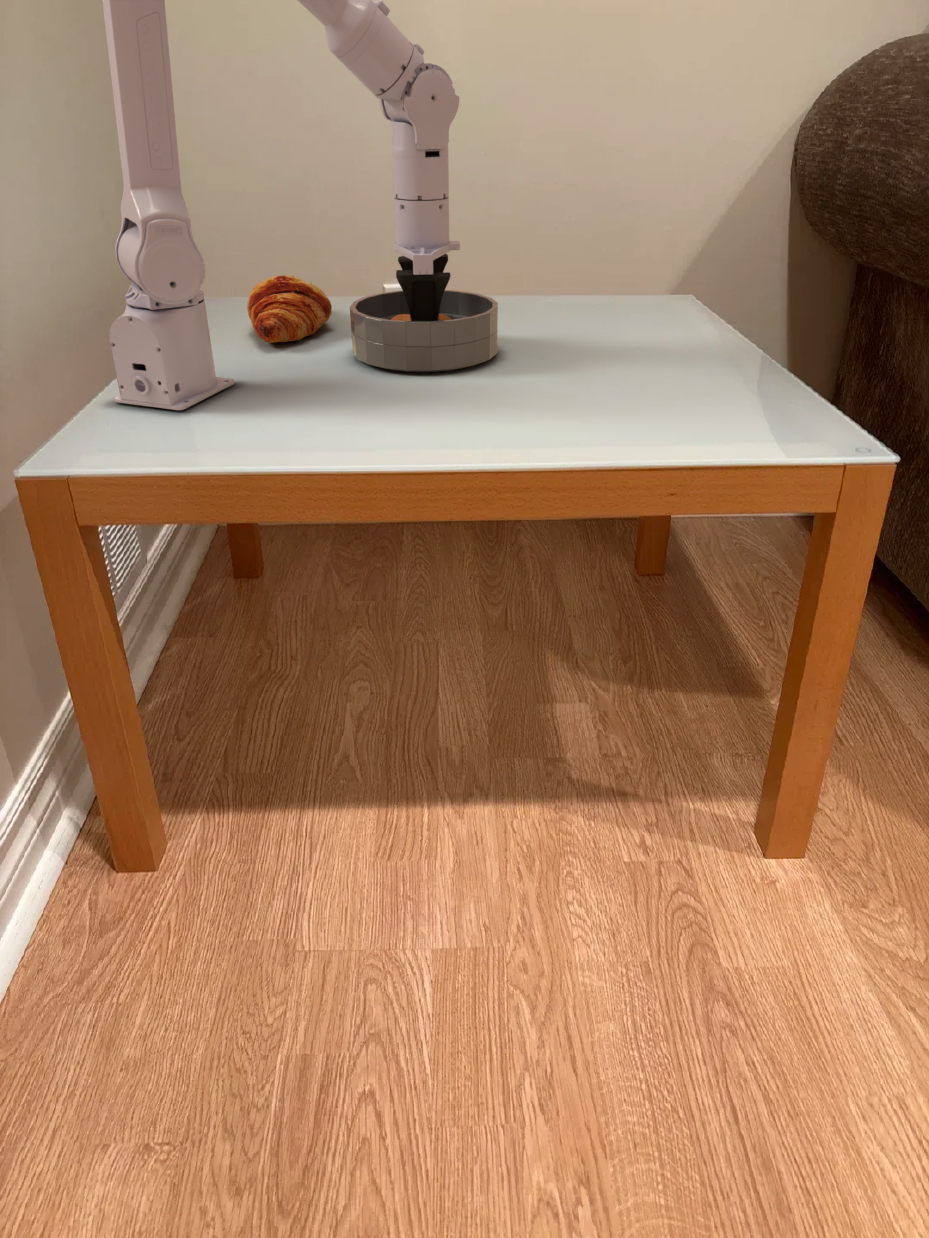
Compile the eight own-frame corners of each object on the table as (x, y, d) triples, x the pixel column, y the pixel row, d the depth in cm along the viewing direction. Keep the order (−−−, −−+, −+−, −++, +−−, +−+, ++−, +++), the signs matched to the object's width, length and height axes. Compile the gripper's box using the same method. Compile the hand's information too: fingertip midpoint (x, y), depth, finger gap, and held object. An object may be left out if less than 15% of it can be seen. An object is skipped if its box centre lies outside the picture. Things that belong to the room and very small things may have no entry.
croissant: (288, 335, 125) (255, 281, 121) (351, 299, 122) (319, 243, 119) (252, 378, 106) (211, 315, 103) (325, 337, 104) (286, 271, 100)
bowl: (467, 381, 95) (467, 327, 92) (328, 367, 100) (324, 315, 97) (515, 343, 108) (516, 295, 105) (390, 332, 113) (388, 285, 110)
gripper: (462, 206, 89) (463, 346, 96) (457, 189, 102) (458, 314, 109) (390, 207, 89) (396, 348, 96) (393, 189, 102) (398, 315, 109)
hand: (424, 330), depth 103 cm, fingers open, 7 cm apart
